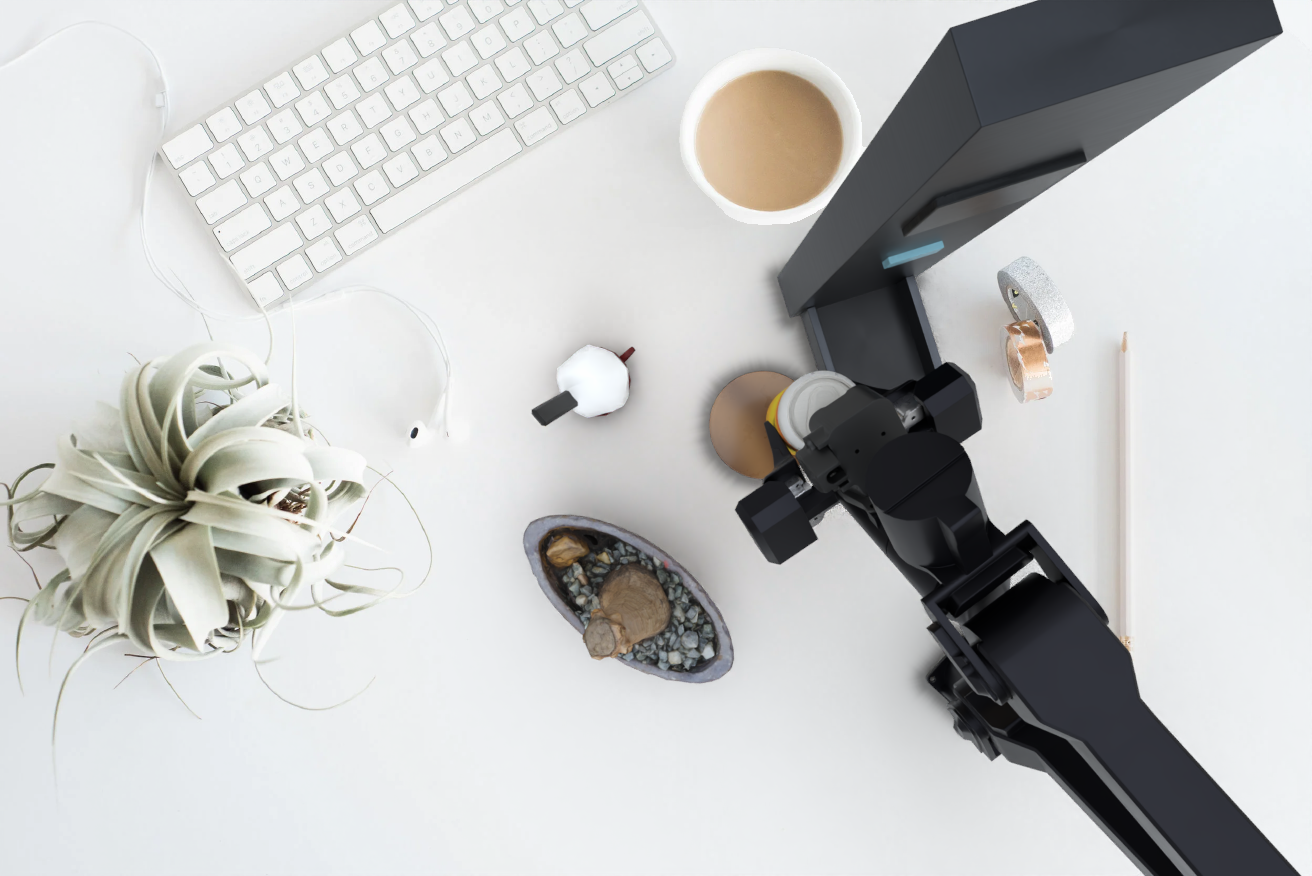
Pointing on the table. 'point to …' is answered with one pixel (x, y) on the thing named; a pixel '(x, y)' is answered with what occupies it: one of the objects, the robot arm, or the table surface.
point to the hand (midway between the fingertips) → (800, 402)
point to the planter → (628, 599)
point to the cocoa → (588, 385)
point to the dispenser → (992, 154)
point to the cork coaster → (746, 422)
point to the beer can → (804, 404)
